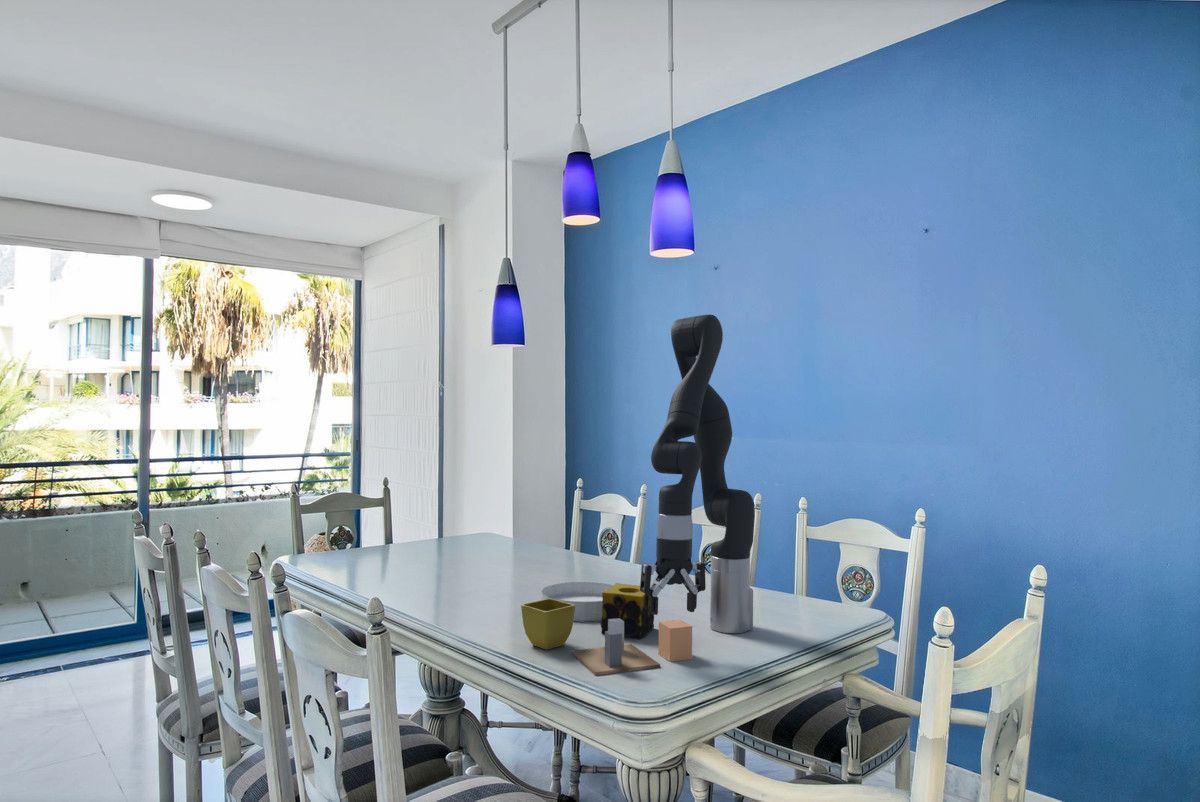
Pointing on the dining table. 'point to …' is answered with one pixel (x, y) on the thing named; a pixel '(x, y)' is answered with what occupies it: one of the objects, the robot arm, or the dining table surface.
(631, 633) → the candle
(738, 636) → the dining table surface
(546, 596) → the dish
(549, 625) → the flower pot
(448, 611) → the dining table surface
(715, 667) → the dining table surface
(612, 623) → the metal post
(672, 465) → the robot arm
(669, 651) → the salmon pink brick
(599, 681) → the dining table surface
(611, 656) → the graphite post
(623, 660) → the board
